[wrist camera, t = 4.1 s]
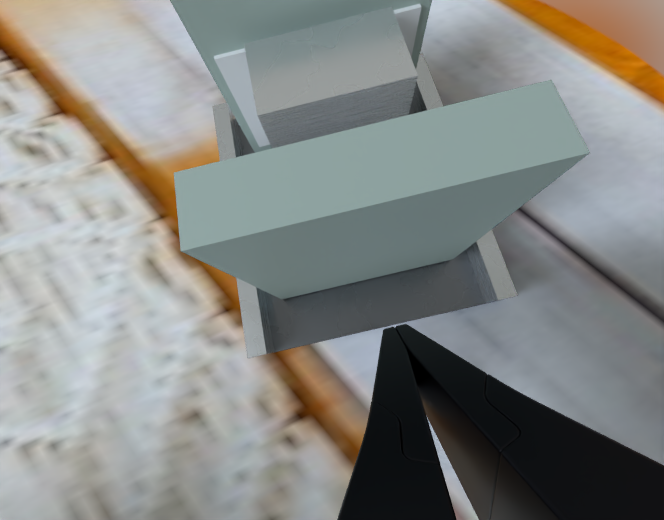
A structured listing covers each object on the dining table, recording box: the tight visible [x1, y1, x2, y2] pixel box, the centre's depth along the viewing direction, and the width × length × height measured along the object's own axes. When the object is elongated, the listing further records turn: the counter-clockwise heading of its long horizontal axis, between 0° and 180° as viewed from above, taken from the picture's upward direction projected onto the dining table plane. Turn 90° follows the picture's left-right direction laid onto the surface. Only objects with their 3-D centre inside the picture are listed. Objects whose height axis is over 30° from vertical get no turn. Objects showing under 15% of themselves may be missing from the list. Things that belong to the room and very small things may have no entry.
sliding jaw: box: [174, 80, 590, 299], centre depth 12 cm, size 2×10×10 cm, turn 103°
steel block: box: [244, 6, 418, 148], centre depth 15 cm, size 4×6×8 cm, turn 103°
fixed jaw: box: [170, 0, 432, 153], centre depth 15 cm, size 2×10×10 cm, turn 103°
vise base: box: [213, 53, 518, 358], centre depth 18 cm, size 16×15×2 cm
